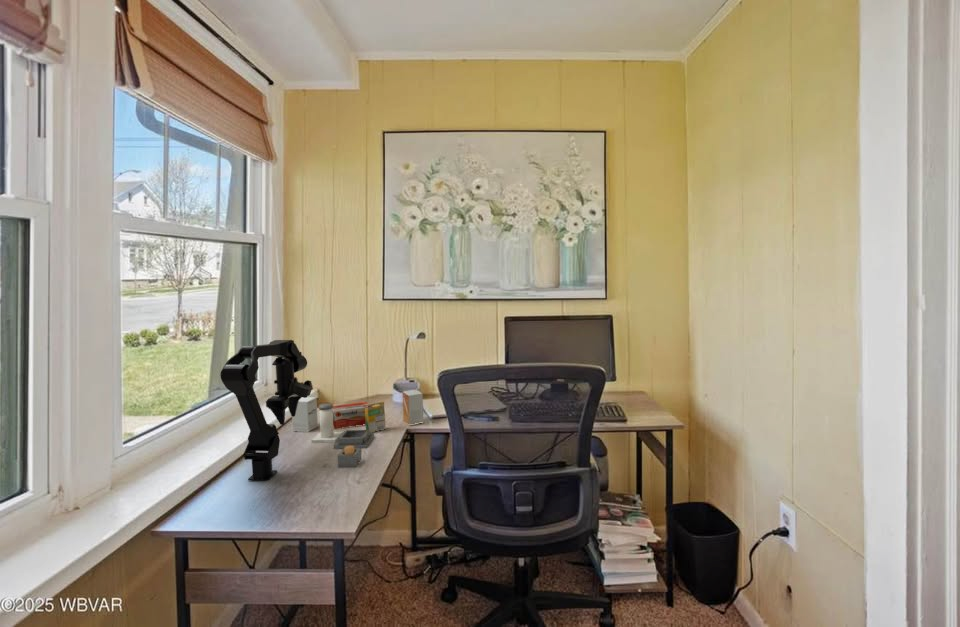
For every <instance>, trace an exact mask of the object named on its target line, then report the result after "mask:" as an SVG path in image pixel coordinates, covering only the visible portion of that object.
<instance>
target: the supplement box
mask: <svg viewBox="0 0 960 627" xmlns="http://www.w3.org/2000/svg"><path fill="white" fill-rule="evenodd" d="M291 420H292V432H295V431H297V432H299V433H309V432H311V431H312V430H314V429H316V428H318V426H319V422H318V401H317V397H315V396H314V397H311V396H307V398H303V397H302V398H301V399H300V400H299V402H298V405H297V410H296V414H295V416H294V417H292V416H291Z"/></svg>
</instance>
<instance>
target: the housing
mask: <svg viewBox="0 0 960 627" xmlns="http://www.w3.org/2000/svg"><path fill="white" fill-rule="evenodd" d="M373 437H375V433H370V431H369V430H366V429H346V430H344V431H342V434H341V435H340V436H339V437H338V440H337V441H336V442H334V444H333V445H332V446H333V449H334V450H335V449H336V450H337V449H338V448H340V449H344V447H346V446H350V445H352V446H354V448H361V449H367V448H368V447H369V445H370V444H371V442H372V441H373V440H374V438H373ZM371 440H372V441H371ZM369 443H370V444H369ZM367 446H368V447H367Z"/></svg>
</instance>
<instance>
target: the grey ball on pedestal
mask: <svg viewBox="0 0 960 627" xmlns="http://www.w3.org/2000/svg"><path fill="white" fill-rule="evenodd" d="M333 406H334V404H333V403H322V404H319V405H318V410H319V411H318V412H319V430H320V431H319V432H320V436H321V438H329V437H332V436H333V435H334V434H333V432H334V426H333V409H332V408H333Z"/></svg>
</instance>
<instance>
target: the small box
mask: <svg viewBox="0 0 960 627" xmlns="http://www.w3.org/2000/svg"><path fill="white" fill-rule="evenodd" d="M401 393H402V411H403V412H402V415H403V416H402V417H403V422H405V423H406V422H407V423H408V424H415V423H419V422H425V421H424V402H423V401H424V400H423V399H424V396H423V393H422V392H421V391H419V390H417V389H410V390H405V391H402V392H401ZM407 423H406V424H407ZM408 424H407V425H408Z"/></svg>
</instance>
